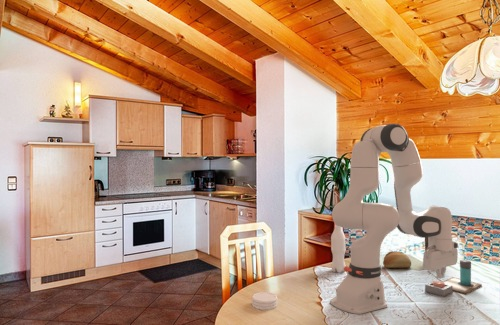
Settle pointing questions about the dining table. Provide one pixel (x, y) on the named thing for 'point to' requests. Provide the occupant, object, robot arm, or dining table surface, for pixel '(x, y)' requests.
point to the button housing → (438, 289)
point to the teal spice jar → (465, 272)
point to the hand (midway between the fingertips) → (440, 277)
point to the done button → (438, 284)
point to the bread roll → (396, 260)
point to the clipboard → (459, 287)
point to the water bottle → (338, 249)
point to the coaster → (264, 301)
